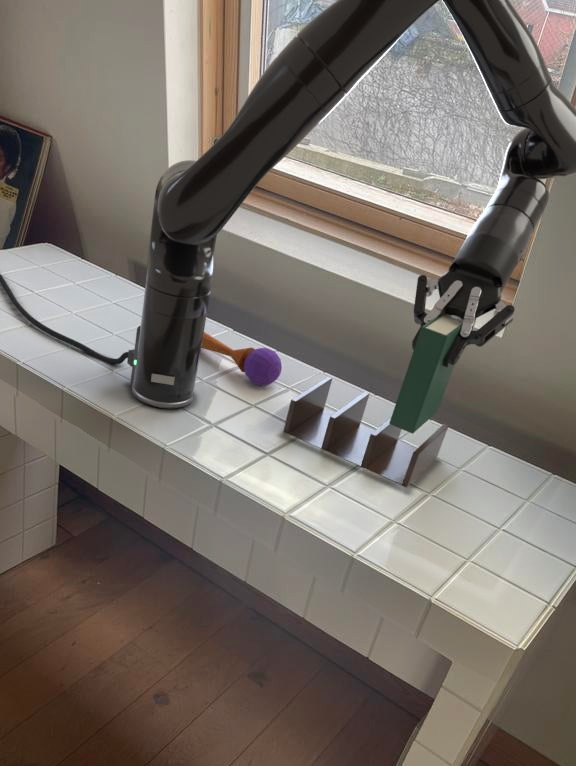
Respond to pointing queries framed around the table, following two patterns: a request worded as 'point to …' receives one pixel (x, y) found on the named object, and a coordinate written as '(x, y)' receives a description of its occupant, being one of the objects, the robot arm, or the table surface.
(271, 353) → the kendama
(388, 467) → the rack
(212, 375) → the table surface
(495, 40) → the robot arm
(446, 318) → the book
